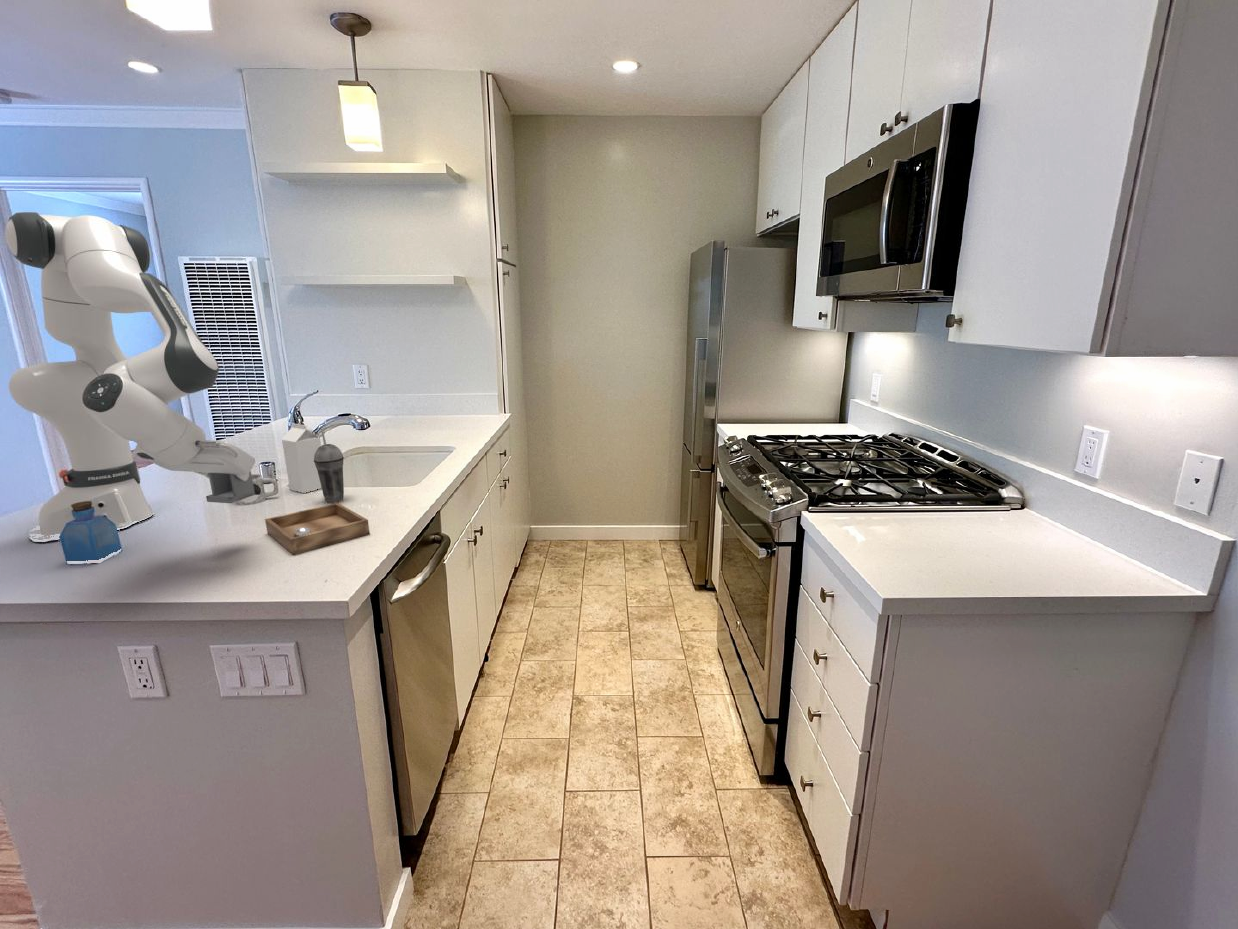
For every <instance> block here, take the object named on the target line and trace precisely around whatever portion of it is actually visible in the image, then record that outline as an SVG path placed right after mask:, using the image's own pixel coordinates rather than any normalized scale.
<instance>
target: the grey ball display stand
mask: <svg viewBox="0 0 1238 929" xmlns="http://www.w3.org/2000/svg"><path fill="white" fill-rule="evenodd" d="M208 474H209V478H208V479H209V484H210V490H211V494H208V495H206V502H207V503H219V504H220V503H221V504H234V503H237V501H239V500H242V499H245V498H248V497H250V496H253V495H255V492H254V486H253V480H252V475H251V474H252V470H251V471H250V473H249V477H248V479H247V480H246V481H240V480H238V479H236V478H235V474H226V473H208Z"/></svg>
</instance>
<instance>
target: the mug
mask: <svg viewBox="0 0 1238 929" xmlns="http://www.w3.org/2000/svg"><path fill="white" fill-rule="evenodd" d="M251 475H252V480H253V486H254V492H255V495H253V496H250V497H248V498H245V499H242V500H239V501H237V502H236V503H238V505H239V504H241V505H240V506H248V505H255V504H260V503H262V502H265V501H266V500H267V498H270V497H272V496H277V495H278V494H279V484H278V481H277V479H276V478H273V477H272V478H271V477H263V474H260V473H259V474H258V473H257V474H256V473H255V474H252V473H251ZM265 483H272V486H273V491H271V492H270V491H269V492H268V491H267V492H266V491H265V485H264V484H265Z"/></svg>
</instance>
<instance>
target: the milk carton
mask: <svg viewBox="0 0 1238 929" xmlns="http://www.w3.org/2000/svg"><path fill="white" fill-rule="evenodd" d="M281 443H282V450H283V455H284V462H285V466H286V467H285V468H286V474H287V475H286V476H287V481H288V485H289V486H288V487H289V490H291V491H293V492H296V491H298V492H297V493H300V492H301V494H306V492H307V493H310V491H311V492H314V491H317V489H318V490H322V487H321V483H320V479H319V475H318V471H317V468H316V466H315V462H314V454H315V452H316V450H317V449H318V448H319V447H320V446H322V443H321V437H320V436H318V435H317V434H316V433H314V432H313V430H312V429H311V428H310V427H307V425H305V424H298V423H293V422H291V428H289V430H288V431H287V433H285V435H284V436H283V437H282V438H281Z"/></svg>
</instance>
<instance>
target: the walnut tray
mask: <svg viewBox="0 0 1238 929" xmlns="http://www.w3.org/2000/svg"><path fill="white" fill-rule="evenodd" d="M264 522H265V527H266V528H265V529H266V532H267V534H268V535H269V536H270V537H271V538H273V540H275V541H276V542H277V543H278V544H279V545H281V546H282V547H283V548H284V549H286V550H287V551H288V552H289V553H290V554H292V555H293V556H296V555H298V554H304V553H307V552H310V551H313V550H317V549H321V548H325V547H328V546H331V545H332V546H333V545H336V544H340V543H343V542H347V541H350V540H354V539H357V538H361V537H365V536H369V535H370V534H371V533H370V526H369V520H368V518H366V517H364V516H362V515H360V514H359V513H356V512H355V511H353V510H351V509H350V508H348V507H346V506H344V505H342V504H340V502H337V503H329V504H326V505H322V506H318V507H317V506H316V507H313V508H307V509H305V510H301V511H295V512H291V513H287V514H282V515H277V516H272V517H269V518H265V519H264ZM300 527H307V528H309V529H310V530H311V531H312V533H309V534H305V535H302V536H298V537H294V532H295V531H296V530H297V529H298V528H300Z"/></svg>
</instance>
